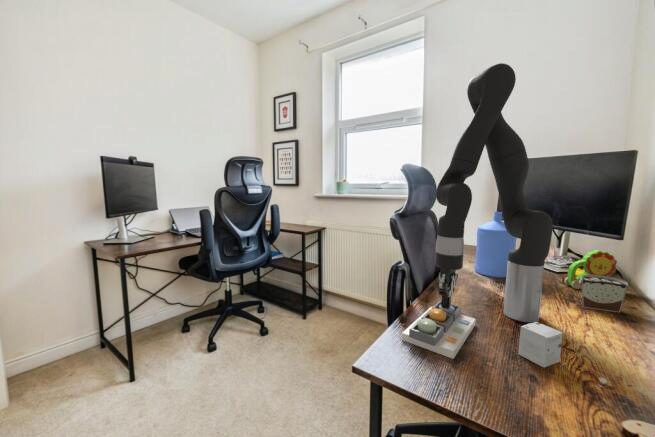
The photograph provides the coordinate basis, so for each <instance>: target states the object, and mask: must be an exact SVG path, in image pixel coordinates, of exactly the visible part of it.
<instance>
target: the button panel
mask: <svg viewBox="0 0 655 437" xmlns="http://www.w3.org/2000/svg"><path fill="white" fill-rule="evenodd" d="M441 302H442V300H439V301H437V303H435V304H434V305H433V306H429V308H428V309H426V311H425V312H424V313H422V314H421V315H420V316H419V317H418V318H417V319H416V320H415V321H414V322H413V323H411V324H410V325H409V326H408V327H407V328H406V329H405V330H404V331H403V332H402V334H401V335H402V336H401V340H402V341H404V342H407V343H410V344H412V345H414V346H417V347H421V348H422V349H426V350H428V351H431V352H433V353H436V354H439V355H442V356H444V357H447V358H449V359H452V360H454V359H455V357H456V356H457V354H458V352H459V351H460V350H461V348H462V347H463V345H464V343H465V342H466V340H467V338H468V337H469V335H470V334H471V332H472V331H473V329H474V328H475V326H476V318H475V317H471V316H467V315H464V314H462V306H460V305H456V304H453V303H451V304H450V305H451V306H453V307H454V308H455V312H454V313H452V312H448V311H445V312H446V321H445V322H443V323H441V322H438V321H434V320H432V321H434V322H435V323H436V333H435V334H432V335H430V334H427V333H424V332H421V331H418V321H419V320H420V319H429V311H430V309H439V305H441ZM443 311H444V310H443ZM429 320H431V319H429Z"/></svg>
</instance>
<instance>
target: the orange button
mask: <svg viewBox="0 0 655 437" xmlns="http://www.w3.org/2000/svg"><path fill="white" fill-rule="evenodd" d="M429 319H431V320H434V321H438V322H441V323H443V322H445V321H446V312H445V311H443V310H441V309H430V311H429Z"/></svg>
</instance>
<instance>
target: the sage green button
mask: <svg viewBox="0 0 655 437" xmlns="http://www.w3.org/2000/svg"><path fill="white" fill-rule="evenodd" d="M418 331H421V332H424V333H427V334H430V335H432V334H435V333H436V323H435V322H434V321H432V320H429V319H420V320H419V321H418Z"/></svg>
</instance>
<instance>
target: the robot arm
mask: <svg viewBox="0 0 655 437" xmlns="http://www.w3.org/2000/svg"><path fill="white" fill-rule="evenodd" d="M516 79H517V78H516V72H515V71H514V68H513V67H511V65H509V64H507V63H501V62H500V63H496V64H494V65H491V66H489V67H488V68H486V69H484V70H482V71H481V72H479V73H478V74H475V75H474V76H473V77H471V79H470V80H469V82H468V84H467V88H466V94H467V98H468V102H469V104H470V106H471V109H472V112H473V114H474V115H473V117H472V119H471V121H470V123H468V126H467V127H466V128H465V130H464V131H463V133H462V135H461V136H460V138H459V139H458V142H457V144H456V146H455V149H454V152H453V154H452V157H451V160H450V163H449V166H448V167H447V169H446V171H445V172H444V174H443V176H442V178H441V179H440V180H439V183H438V185H437V187H436V192H435V198H436V201H437V203H438V204H439V205H441V206H444V207H446V209H445V213H444V215H441V216H440V217H439V218H438V224H437V238H436V241H435V254H434V255H435V256H434V257H435V259H434V265H435V267H437V268H439V269H440V272H439V273H438V279H439V281H437V280H436V283H435V285H436V289H437V292H438V295H439V296H441V301H442V302H441V307H442V308H446V309H449V308H450V304H452V303H451V299H452V295H453V293H454V292H455V289H456V285H457V282H458V281H457V280H458V277H459V274H458V273H457V272H456V271H458V270H461V269H463V265H464V252H465V241H464V240H465V239H464V234H465V224H466V220H467V218H468V215H469V212H470V209H471V205H472V201H473V192H472V190H471V188H470V186H469V185H468V184H466V183H465V181H466V180H467V179H468V178H469V177H472V176H473V175H474V174H475V173H476V170H477V168H478V166H479V163H480V159H481V158H482V154H483V152H484V149H485V148H486V153H487V157H488V160H489V165H490V168H491V170H492V174H493V177H494V181H495V184H496V188H497V192H498V196H499V199H500V205H501V206H500V207H501V212H502V219H503V222H504V224H505V228H506V230H507V232H508V233H509V234H510V235H511V236H513V237H516V238H517V239H520V244H519V247H518V248H517V249H515V250H511V251H510V252H509V254H508V263H507V275H506V278H505V290H504V301H503V302H504V303H503V314H504V315H505V316H506V317H508V318H510V319H513V320H515V321H519V322H524V323H534V322H538V323H539V320H540V317H541V316H540V315H541V314H540V313H541V305H542V293H543V282H544V272H545V271H544V270H545V261H546V259H547V258H548V256H549V253H550V248H551V243H552V242H551V241H552V236H553V228H554V225H553V219H552V217H551V216H550V214H548V213H547V212H545V211H542V210H534V209H529V208H528V205H527V202H526V199H525V196H524V195H525V194H524V188H525V183H526V180H527V177H528V173H529V168H530V163H529V158H528V153H527V150H526V145H525V144H524V142H523V140H522V138H521V137H520V135H519V134H518V133H517V132H516V130H514V129H513V128H512V127H511V125H510V124H509V123H508V122H507V121H506V119H505V118H504V116H503V113H502V110H503V109H504V108H505V105H506V104H507V102H508V100H509V99H510V97H511V94H512V92H513V90H514V88H515V85H516V81H517V80H516Z"/></svg>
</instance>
